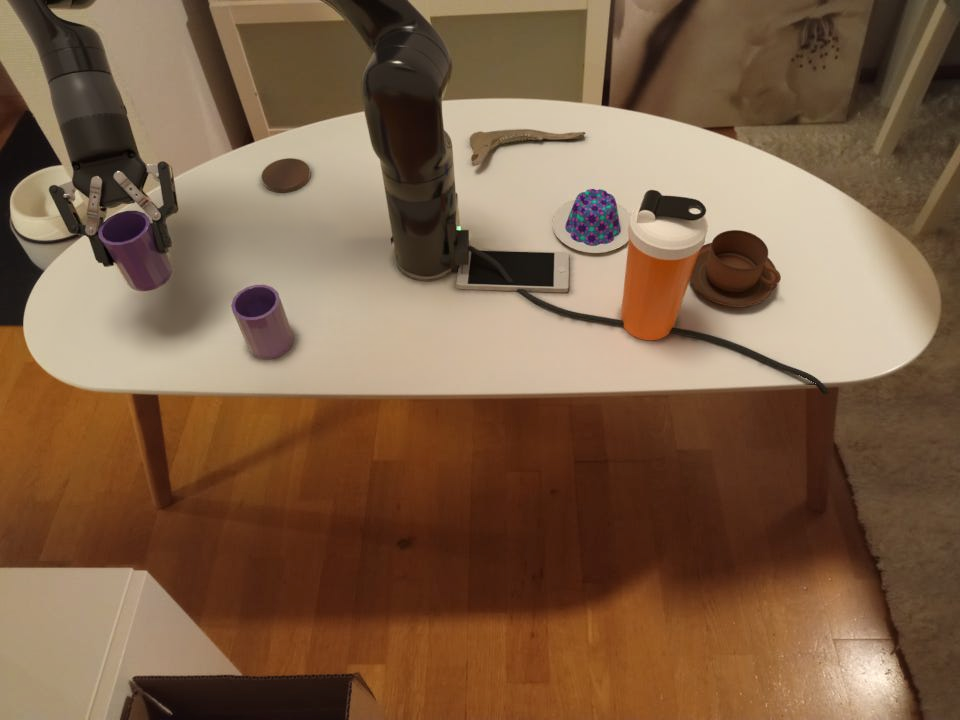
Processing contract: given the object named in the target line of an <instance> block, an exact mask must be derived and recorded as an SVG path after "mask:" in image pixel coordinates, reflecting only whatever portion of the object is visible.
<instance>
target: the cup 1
mask: <svg viewBox="0 0 960 720" xmlns="http://www.w3.org/2000/svg"><path fill="white" fill-rule="evenodd" d="M151 223H152V220H151V218H150V216H149V215H148V214H147V213H145V212H143V211H139V210H124V211H122V212H117V213H115V214H113V215H111V216H110V217H108V218H106V220H104V222H103V223H102V225H101V227H100V229H99V231H98V233H99V239H100V240H101V242H102V244H103V245H104V247H105V249H106V250H107V252H108V254H109V255H110V257H111V259H112V260H113V262H114V266H115V267H116V269H117V270H118V272H119V274H120V275H121V277H122V279H123V280H124V282H125V283H126V285H127V286H128V287H129V288H130V289H132V290H134V291H136V292H149V291H154V290H157V289H159V288H161V287H162V286H164V285H165V284H166V283H168V282H169V281H170V280H171V278H172V276H173V274H174V269H175V268H174V265H173V263H172V260H171V258H170V256H169V255H168V254H169V253H165V254H161V253H160V252H159V249H158V246H157V242H156V239H155V236H154V233H153V229H152V226H151Z"/></svg>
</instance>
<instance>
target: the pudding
mask: <svg viewBox="0 0 960 720" xmlns="http://www.w3.org/2000/svg"><path fill="white" fill-rule="evenodd" d="M630 216H631V213H630V212H629V211H628V209H626V208H625V207H624V206H622V205H621V204H619V203H617V200H616V198H615V196H614V195H613V194H611V193H608V192H607V190H605V189H600V188H599V189H595V188H588V189H586V190H585V191H582V192H579V194H577V195H576V198H575V199H571V200H569V201H568V202H566V203H564V204H563V205H561V206H560V207H559V208H557V210H556V211H555V213H554V215H553V218H552V220H551V221H552V223H551V225H552V230H553V233H554V234H555V236H556V237H557V239H558V240H559V241H561V242H562V243H563V244H564V245H566V246H567V247H569V248H571V249H573V250H576V251H580V252H583V253H590V254H601V253H608V252H611V251H615V250H617V249H619V248H621V247H623V246H624V245H626V244H627V243H628V242H629V236H628V226H629V221H630Z"/></svg>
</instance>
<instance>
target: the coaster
mask: <svg viewBox="0 0 960 720" xmlns="http://www.w3.org/2000/svg"><path fill="white" fill-rule="evenodd" d="M310 178H311V170H310V167H309V165H308V164H307V163H306V162H305V161H304V160H301V159H298V158H294V157H293V158H292V157H291V158H290V157H289V158H281V159H277V160H274V161H273V162H271V163H269V164H268V165H267V166H266V167H265V168H264V169H263V171H262V173H261V181H262V185H264V187H265V188H266V189H268V190H269V191H271V192H274V193H291V192H294V191H297V190H299V189H301V188H302V187H304V186H305V185H306V184H307V183H308V182H309V180H310Z"/></svg>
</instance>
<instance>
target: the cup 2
mask: <svg viewBox="0 0 960 720" xmlns="http://www.w3.org/2000/svg"><path fill="white" fill-rule="evenodd" d="M230 307H231V311H232V314H233V316H234V319H235V321H236V323H237V325H238V327H239V330H240V332H241V334H242V337H243V339H244V341H245V343H246V346H247V348H248V350H249V352H250V353H251V354H252V355H253V356H254V357H255V358H258V359H261V360H274V359H277V358H280V357H282V356H283V355H285V354H287V352H289V351H290V349H291V348H292V346H293V344H294V334H293V331H292V328H291V325H290V323H289V319H288V317H287V314H286V311H285V309H284V305H283V303H282V299H281V297H280V294H279V292H278V291H277V290H276V289H275V288H274V287H273V286H270V285H267V284H253V285H249V286H246V287H245V288H242V289H241V290H240V291H238V292H237V293H236V294H235V296H233V298H232V302H231V305H230Z"/></svg>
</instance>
